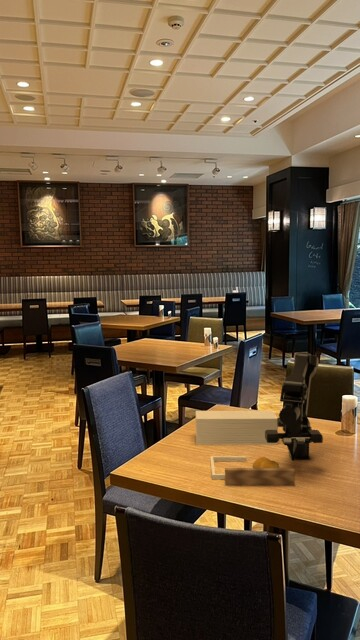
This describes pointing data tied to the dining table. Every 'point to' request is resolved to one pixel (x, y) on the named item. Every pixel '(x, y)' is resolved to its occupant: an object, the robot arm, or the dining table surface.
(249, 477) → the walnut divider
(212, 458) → the serving bay
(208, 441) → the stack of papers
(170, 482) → the dining table surface
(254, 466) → the bread roll
